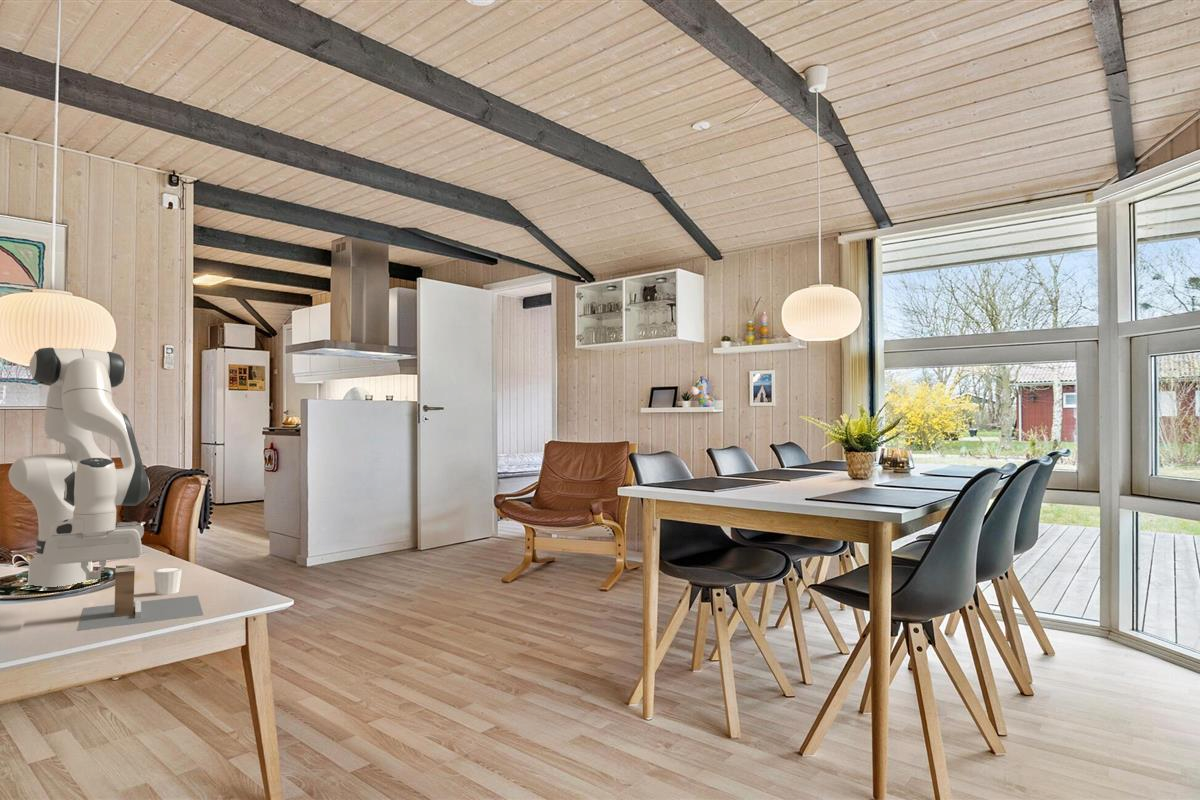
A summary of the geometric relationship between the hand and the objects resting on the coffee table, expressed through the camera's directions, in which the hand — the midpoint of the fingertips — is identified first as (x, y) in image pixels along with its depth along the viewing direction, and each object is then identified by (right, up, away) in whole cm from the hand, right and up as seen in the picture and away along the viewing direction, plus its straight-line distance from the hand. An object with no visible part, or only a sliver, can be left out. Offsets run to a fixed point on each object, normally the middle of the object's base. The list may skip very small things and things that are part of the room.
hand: (93, 579), depth 177 cm
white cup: (+3, -11, +25) cm, 27 cm away
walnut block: (+5, -10, +4) cm, 12 cm away
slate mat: (+9, -10, +6) cm, 15 cm away
